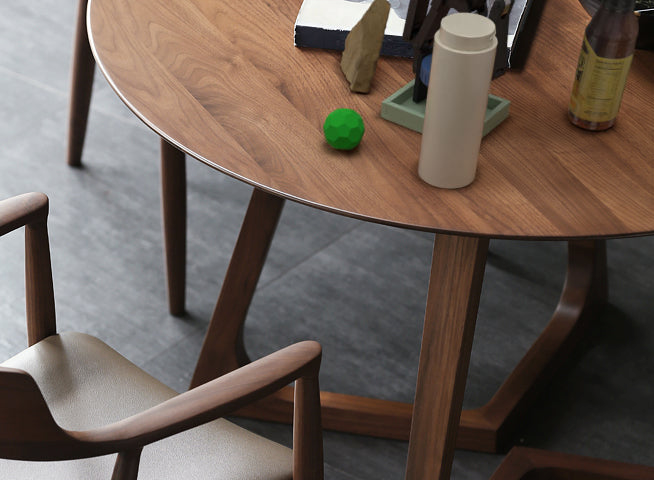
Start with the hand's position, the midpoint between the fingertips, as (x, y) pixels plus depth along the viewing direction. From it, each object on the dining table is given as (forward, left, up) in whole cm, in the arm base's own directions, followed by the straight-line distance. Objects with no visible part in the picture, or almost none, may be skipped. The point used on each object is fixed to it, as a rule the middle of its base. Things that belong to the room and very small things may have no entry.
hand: (444, 110), depth 137 cm
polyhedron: (+6, +14, -1) cm, 15 cm away
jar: (-7, +11, -1) cm, 13 cm away
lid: (0, 0, +6) cm, 6 cm away
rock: (+15, -2, -1) cm, 15 cm away
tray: (0, 0, -1) cm, 1 cm away
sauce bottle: (-15, -11, -1) cm, 19 cm away
